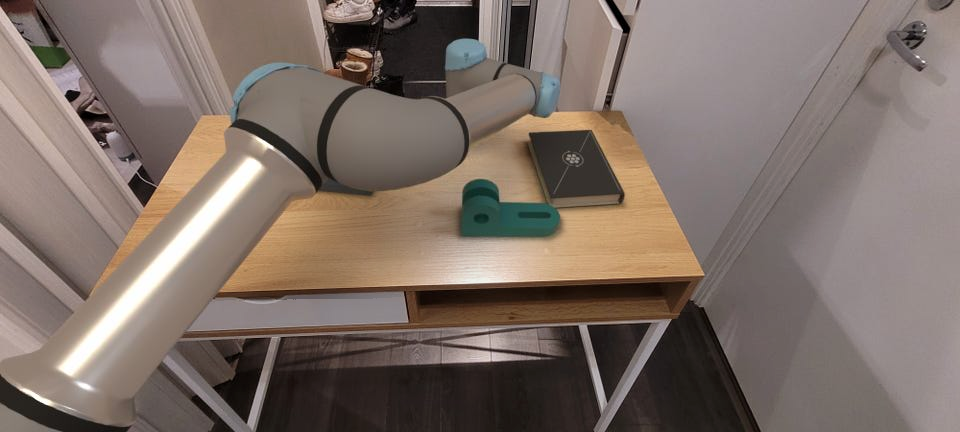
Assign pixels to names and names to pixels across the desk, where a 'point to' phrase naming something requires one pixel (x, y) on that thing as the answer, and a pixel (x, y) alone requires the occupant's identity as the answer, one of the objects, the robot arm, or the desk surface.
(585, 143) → the book
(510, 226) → the bracket
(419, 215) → the desk surface
